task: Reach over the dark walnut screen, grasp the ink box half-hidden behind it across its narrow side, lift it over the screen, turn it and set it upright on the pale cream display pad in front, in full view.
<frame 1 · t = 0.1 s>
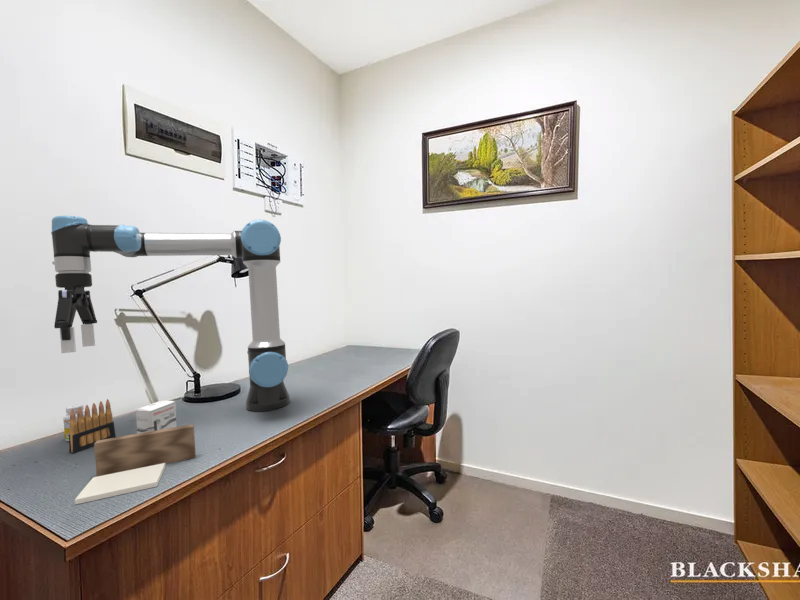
hand: (79, 349, 102), 28 cm above the table, tool pointing down, fingers open, 13 cm apart
ink box: (159, 448, 100), on the table
supplement bottle: (77, 438, 111), on the table
ammunition clip: (93, 446, 104), on the table
walnut screen: (148, 465, 89), on the table
display pad: (124, 484, 81), on the table
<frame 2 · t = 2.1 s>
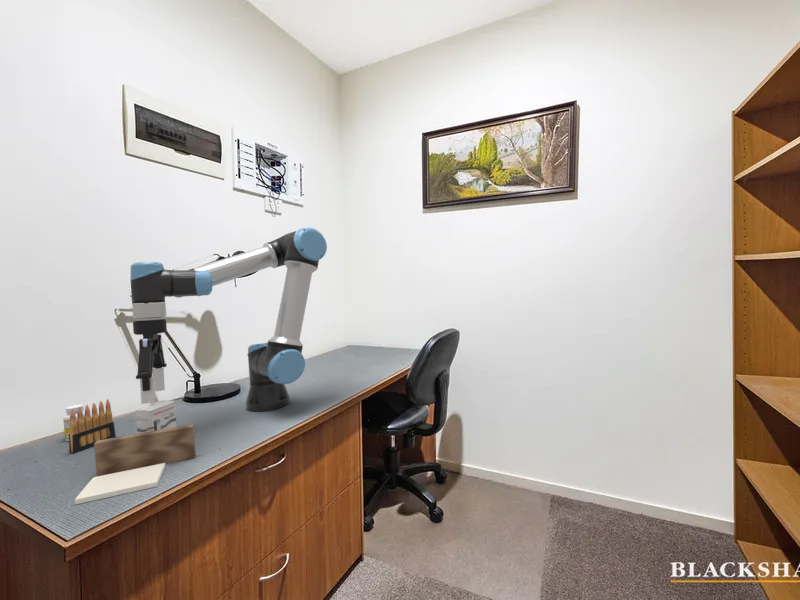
hand: (153, 396, 100), 14 cm above the table, tool pointing down, fingers open, 13 cm apart
nothing on the table moved.
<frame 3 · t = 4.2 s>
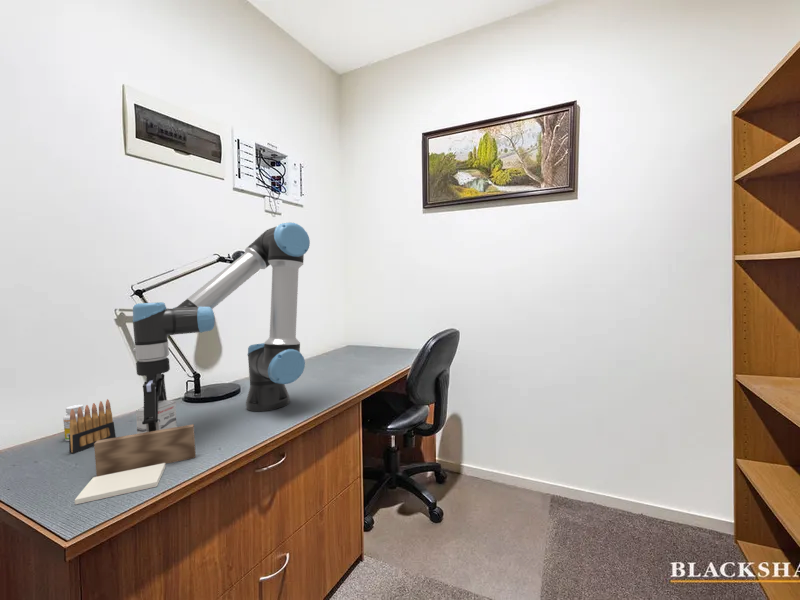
hand: (158, 439, 100), 2 cm above the table, tool pointing down, fingers closed on ink box, 9 cm apart
ink box: (159, 447, 100), on the table, touching gripper
everything else where it was.
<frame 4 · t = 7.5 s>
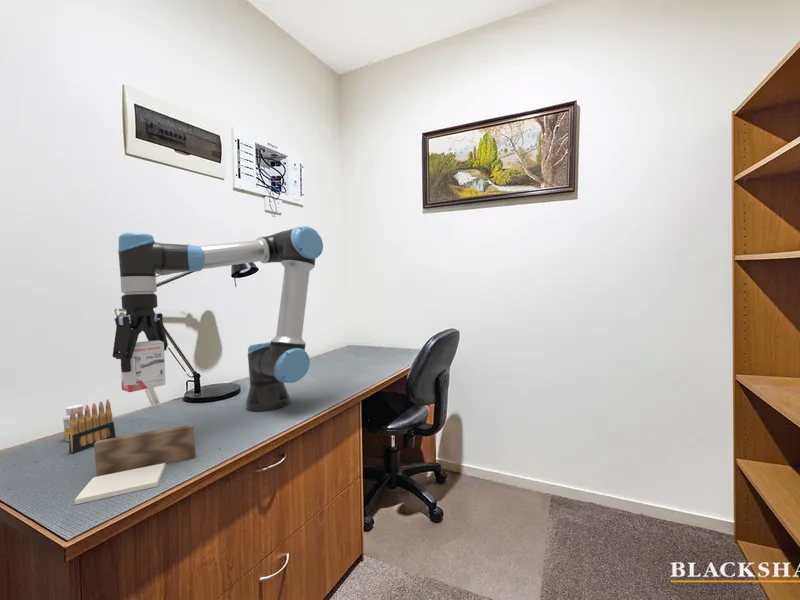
hand: (144, 379, 95), 20 cm above the table, tool pointing down, fingers closed on ink box, 9 cm apart
ink box: (144, 388, 95), point 18 cm above the table, touching gripper
everything else where it was.
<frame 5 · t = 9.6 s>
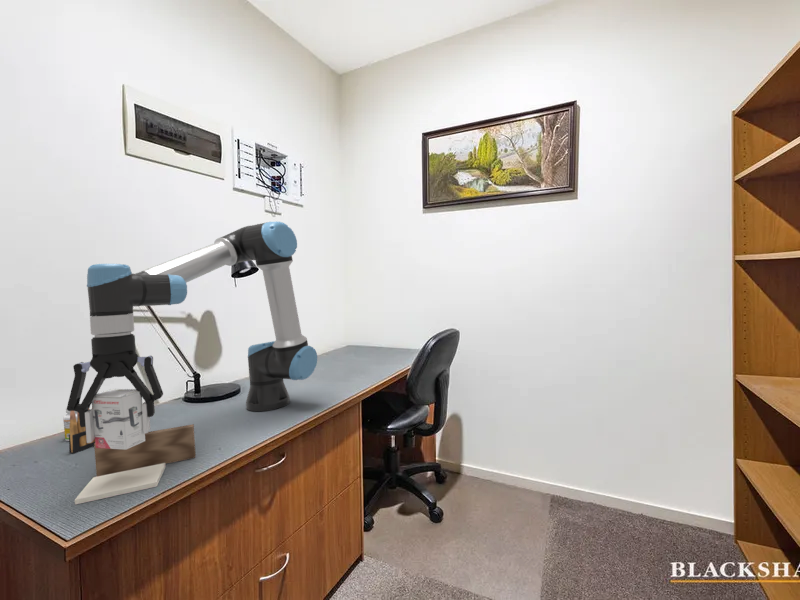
hand: (119, 435, 80), 11 cm above the table, tool pointing down, fingers closed on ink box, 9 cm apart
ink box: (120, 445, 81), point 9 cm above the table, touching gripper
everything else where it was.
when the fingers open (4 cm above the table, at t = 11.2 s): ink box drops 1 cm, resting on display pad.
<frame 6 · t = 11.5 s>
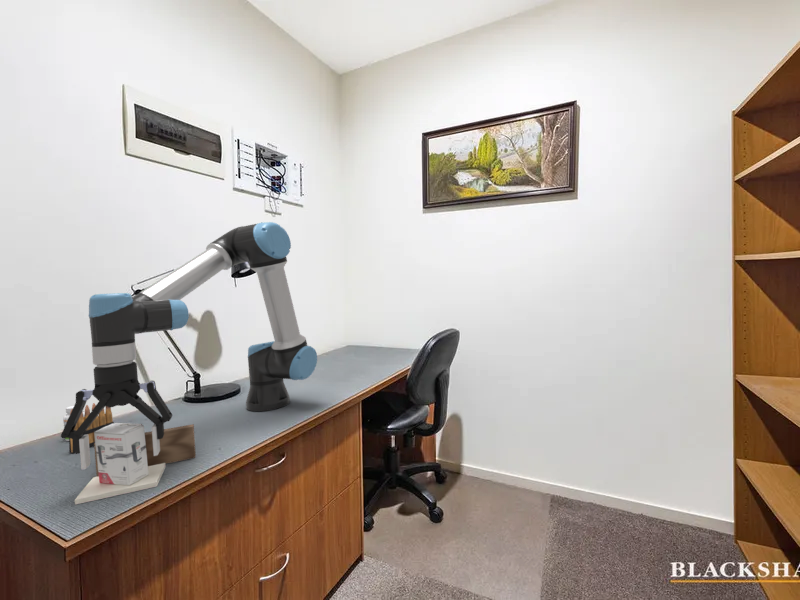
hand: (122, 460, 81), 5 cm above the table, tool pointing down, fingers open, 12 cm apart
ink box: (124, 480, 81), point 1 cm above the table, touching display pad
everything else where it was.
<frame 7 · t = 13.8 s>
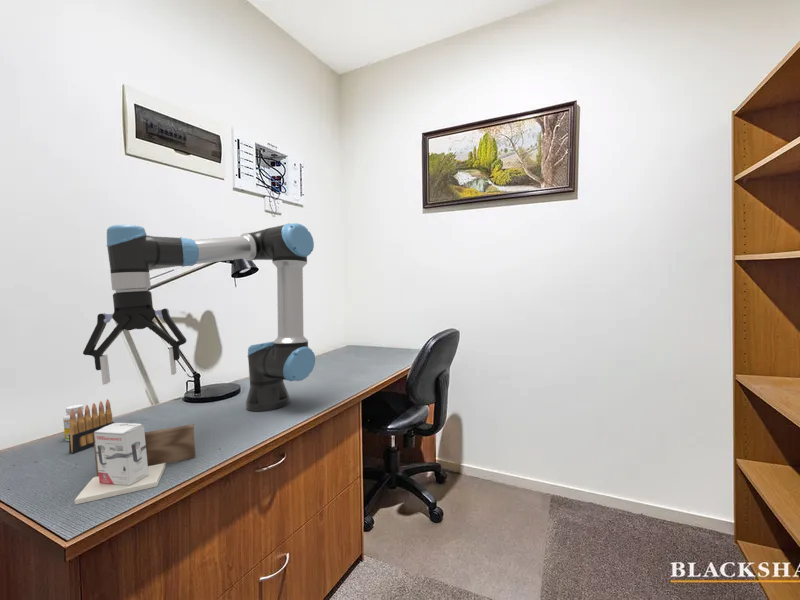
hand: (141, 378, 88), 22 cm above the table, tool pointing down, fingers open, 13 cm apart
nothing on the table moved.
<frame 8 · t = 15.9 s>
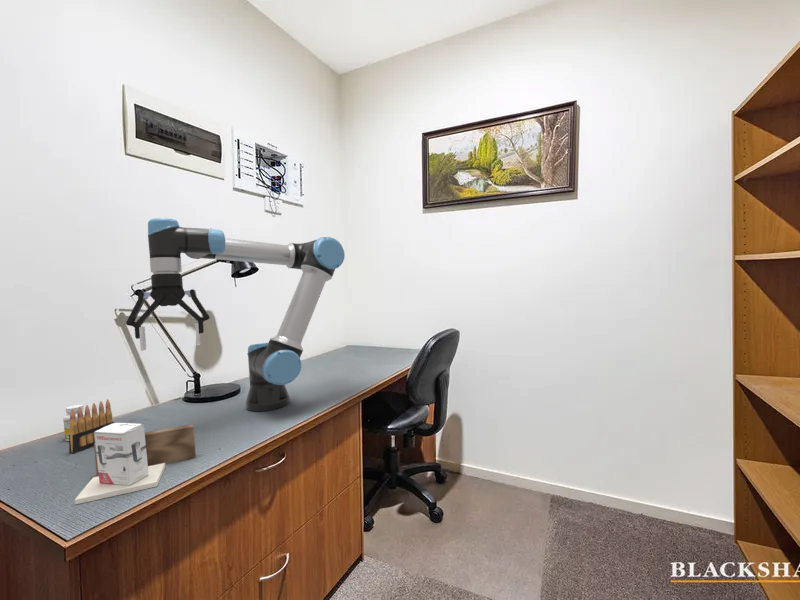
hand: (171, 347, 105), 27 cm above the table, tool pointing down, fingers open, 13 cm apart
nothing on the table moved.
at the end: ink box inside the target area (0.1 cm from its centre), point 0.8 cm above the table; ink box tilted 0°; the gripper is holding nothing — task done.
